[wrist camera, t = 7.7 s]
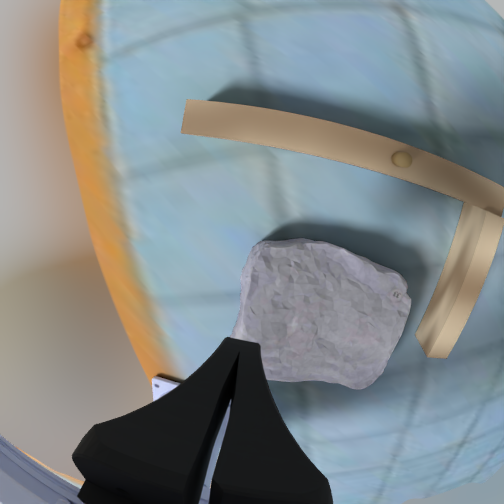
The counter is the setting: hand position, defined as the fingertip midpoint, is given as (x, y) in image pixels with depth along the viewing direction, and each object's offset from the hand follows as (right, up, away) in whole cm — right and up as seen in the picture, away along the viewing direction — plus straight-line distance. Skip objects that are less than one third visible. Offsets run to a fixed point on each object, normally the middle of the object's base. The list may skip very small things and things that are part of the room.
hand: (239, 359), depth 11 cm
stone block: (+5, +1, +10) cm, 11 cm away
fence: (+6, +5, +7) cm, 11 cm away
